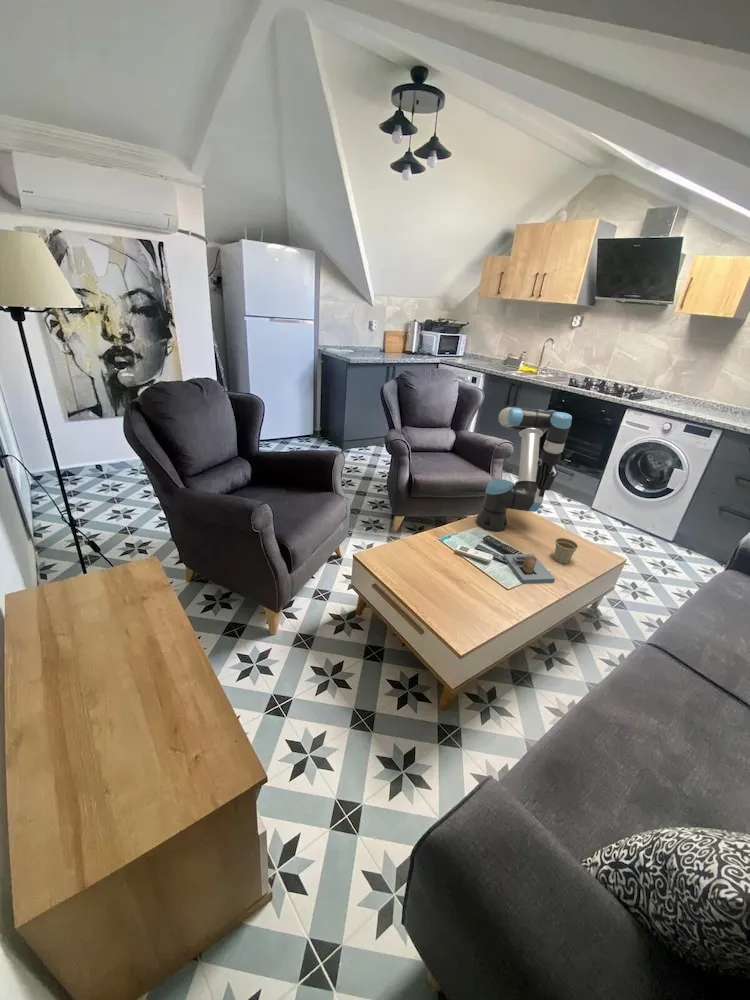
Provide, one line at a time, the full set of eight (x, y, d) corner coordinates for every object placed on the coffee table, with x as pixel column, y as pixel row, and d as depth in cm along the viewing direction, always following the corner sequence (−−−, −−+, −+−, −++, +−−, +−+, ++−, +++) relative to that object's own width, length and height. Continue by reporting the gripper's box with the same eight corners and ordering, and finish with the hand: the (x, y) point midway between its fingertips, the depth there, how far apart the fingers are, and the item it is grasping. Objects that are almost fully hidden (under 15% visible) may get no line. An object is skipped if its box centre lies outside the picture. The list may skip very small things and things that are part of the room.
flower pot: (548, 561, 183) (554, 544, 180) (551, 551, 191) (556, 535, 187) (571, 568, 180) (577, 551, 176) (573, 558, 187) (578, 541, 184)
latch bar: (511, 561, 177) (513, 555, 176) (529, 561, 178) (530, 555, 177) (514, 565, 174) (516, 559, 173) (532, 565, 176) (534, 559, 174)
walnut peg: (518, 571, 174) (523, 555, 171) (528, 571, 175) (533, 555, 172) (523, 577, 170) (528, 561, 167) (533, 577, 171) (538, 561, 168)
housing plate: (503, 558, 182) (504, 554, 182) (532, 557, 185) (533, 553, 184) (522, 583, 167) (523, 579, 166) (553, 582, 169) (555, 578, 168)
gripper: (536, 445, 175) (522, 495, 186) (551, 456, 164) (536, 508, 175) (552, 445, 177) (538, 495, 187) (569, 456, 165) (553, 509, 176)
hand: (537, 501), depth 181 cm, fingers closed
